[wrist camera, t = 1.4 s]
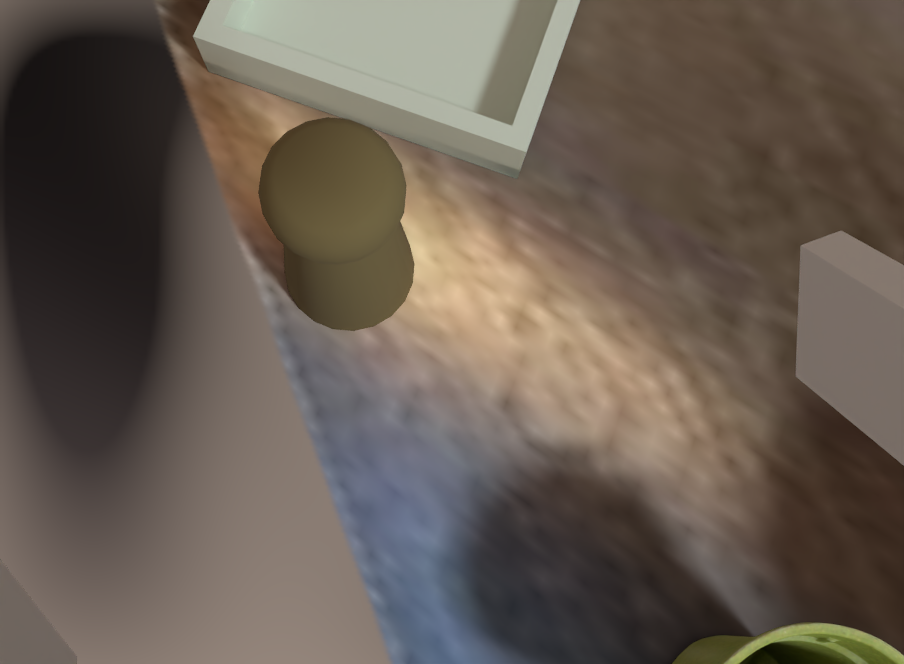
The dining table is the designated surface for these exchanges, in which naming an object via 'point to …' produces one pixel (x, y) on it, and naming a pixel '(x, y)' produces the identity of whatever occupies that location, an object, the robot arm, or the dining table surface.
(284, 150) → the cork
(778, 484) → the dining table surface
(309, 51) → the tray
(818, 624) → the plant pot
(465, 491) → the dining table surface
